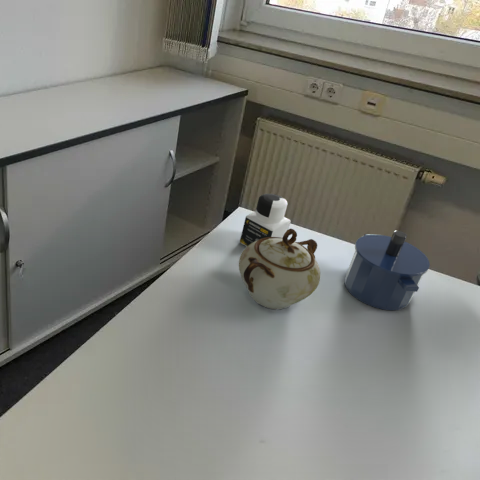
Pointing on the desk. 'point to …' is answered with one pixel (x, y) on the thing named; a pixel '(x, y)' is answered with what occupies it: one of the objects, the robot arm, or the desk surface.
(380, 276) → the pot
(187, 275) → the desk surface
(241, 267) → the sugar bowl
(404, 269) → the lid
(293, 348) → the desk surface
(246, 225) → the medicine bottle
